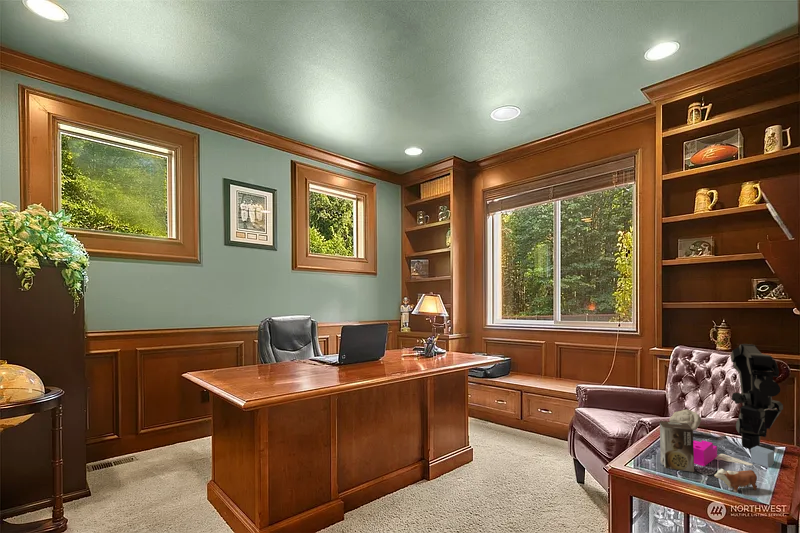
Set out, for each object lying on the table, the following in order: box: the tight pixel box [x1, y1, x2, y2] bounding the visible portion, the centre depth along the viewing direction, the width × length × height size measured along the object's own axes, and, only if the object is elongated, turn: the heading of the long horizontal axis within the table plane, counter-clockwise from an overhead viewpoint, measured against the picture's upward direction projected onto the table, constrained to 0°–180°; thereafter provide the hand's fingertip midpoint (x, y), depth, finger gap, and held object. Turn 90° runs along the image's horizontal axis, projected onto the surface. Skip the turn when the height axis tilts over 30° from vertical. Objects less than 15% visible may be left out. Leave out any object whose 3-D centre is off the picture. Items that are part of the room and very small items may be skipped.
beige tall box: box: [659, 420, 695, 473], centre depth 148 cm, size 9×6×16 cm
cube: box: [750, 445, 775, 468], centre depth 152 cm, size 5×5×5 cm
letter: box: [714, 453, 754, 466], centre depth 153 cm, size 12×10×1 cm
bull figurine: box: [714, 468, 758, 493], centre depth 132 cm, size 4×13×8 cm, turn 95°
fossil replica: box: [668, 408, 702, 432], centre depth 181 cm, size 12×8×10 cm
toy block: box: [693, 439, 718, 467], centre depth 156 cm, size 15×6×8 cm
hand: (761, 430), depth 152 cm, fingers open, 9 cm apart
